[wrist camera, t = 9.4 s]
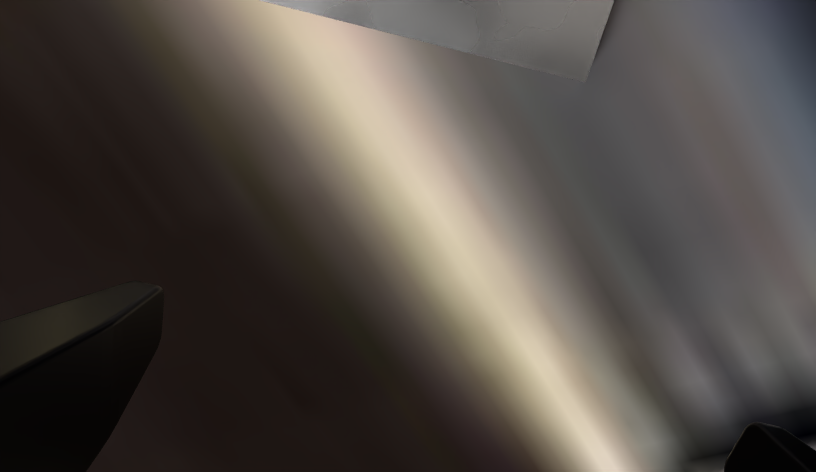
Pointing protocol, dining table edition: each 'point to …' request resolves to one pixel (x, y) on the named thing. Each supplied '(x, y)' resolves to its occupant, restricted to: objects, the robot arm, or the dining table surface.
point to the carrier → (486, 27)
